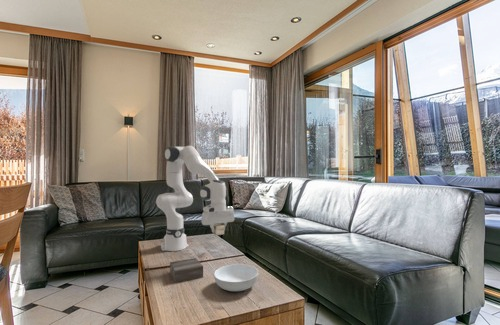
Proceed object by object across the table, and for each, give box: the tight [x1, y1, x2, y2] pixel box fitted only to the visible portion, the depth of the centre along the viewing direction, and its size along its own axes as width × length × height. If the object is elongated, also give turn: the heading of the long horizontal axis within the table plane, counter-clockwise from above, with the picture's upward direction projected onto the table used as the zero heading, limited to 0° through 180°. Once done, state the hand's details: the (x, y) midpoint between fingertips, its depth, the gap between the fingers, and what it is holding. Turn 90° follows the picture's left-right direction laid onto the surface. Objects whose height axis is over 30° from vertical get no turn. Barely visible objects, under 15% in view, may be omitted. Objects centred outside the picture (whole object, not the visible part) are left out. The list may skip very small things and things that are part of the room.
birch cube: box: [212, 223, 225, 236], centre depth 158 cm, size 5×5×5 cm
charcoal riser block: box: [169, 257, 204, 284], centre depth 140 cm, size 14×14×6 cm
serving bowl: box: [213, 263, 259, 292], centre depth 126 cm, size 21×21×7 cm
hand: (218, 230), depth 158 cm, fingers closed on birch cube, 5 cm apart
